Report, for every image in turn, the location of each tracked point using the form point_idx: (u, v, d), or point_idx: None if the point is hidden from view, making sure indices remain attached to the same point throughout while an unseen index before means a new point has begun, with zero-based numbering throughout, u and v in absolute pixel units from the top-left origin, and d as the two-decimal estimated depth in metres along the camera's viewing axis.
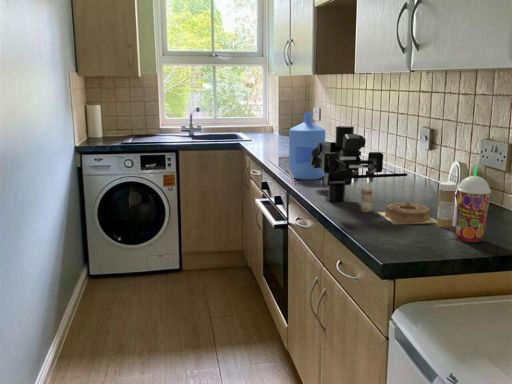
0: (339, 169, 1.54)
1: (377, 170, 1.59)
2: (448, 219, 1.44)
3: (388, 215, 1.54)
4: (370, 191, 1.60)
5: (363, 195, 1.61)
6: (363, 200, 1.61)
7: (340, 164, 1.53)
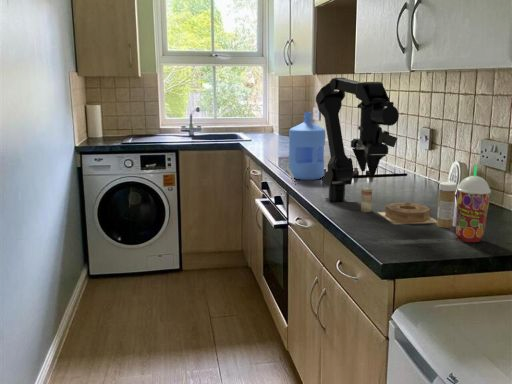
0: (370, 167, 1.54)
1: None
2: (448, 219, 1.44)
3: (388, 215, 1.54)
4: (370, 191, 1.60)
5: (363, 195, 1.61)
6: (363, 200, 1.61)
7: (375, 168, 1.55)
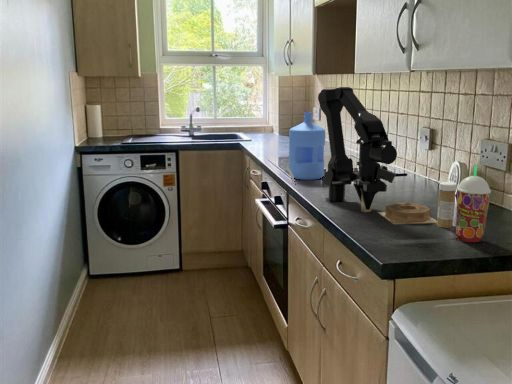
0: (365, 201, 1.59)
1: None
2: (448, 219, 1.44)
3: (388, 215, 1.54)
4: None
5: None
6: None
7: (370, 202, 1.60)
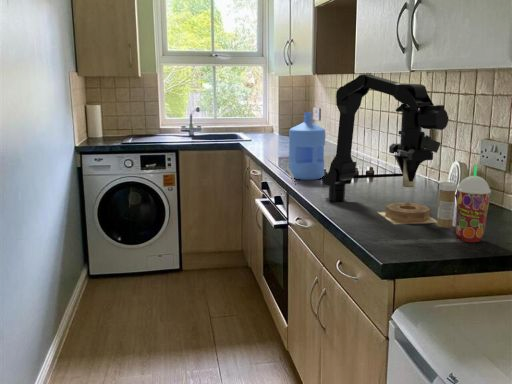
0: (408, 172, 1.49)
1: None
2: (448, 219, 1.44)
3: (388, 215, 1.54)
4: None
5: None
6: None
7: (413, 173, 1.50)
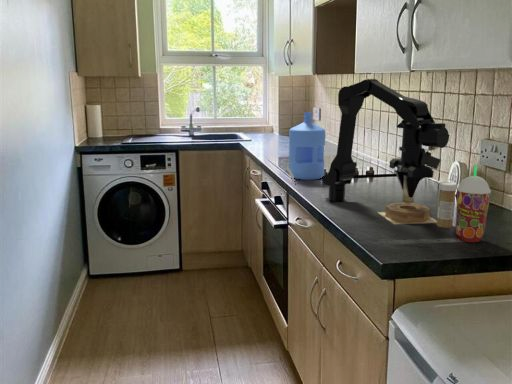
0: (409, 188, 1.50)
1: None
2: (448, 219, 1.44)
3: (388, 215, 1.54)
4: None
5: None
6: None
7: (413, 189, 1.51)
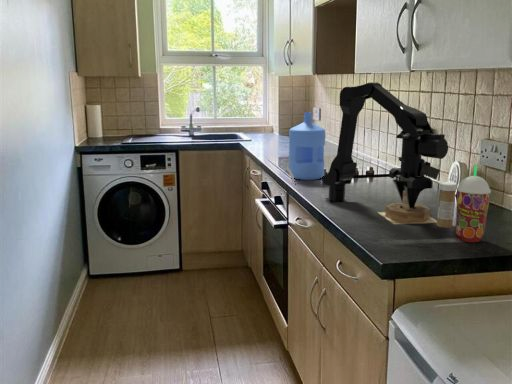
0: (409, 199, 1.50)
1: None
2: (448, 219, 1.44)
3: (388, 215, 1.54)
4: None
5: (405, 197, 1.53)
6: (405, 202, 1.54)
7: (414, 200, 1.51)
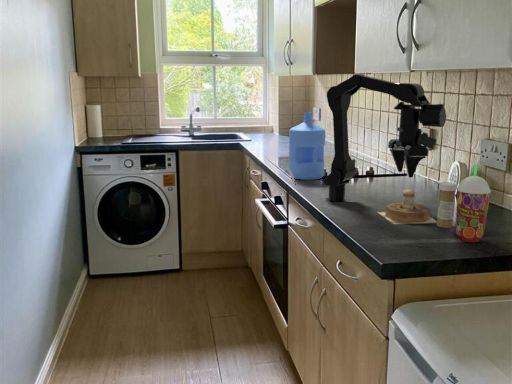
0: (408, 168, 1.55)
1: None
2: (448, 219, 1.44)
3: (388, 215, 1.54)
4: (413, 193, 1.52)
5: (405, 197, 1.53)
6: (405, 203, 1.53)
7: (413, 169, 1.56)
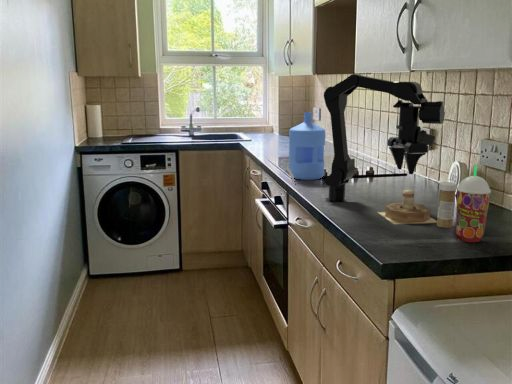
0: (409, 165, 1.57)
1: None
2: (448, 219, 1.44)
3: (388, 215, 1.54)
4: (412, 193, 1.52)
5: (405, 198, 1.53)
6: (405, 203, 1.53)
7: (413, 166, 1.58)
